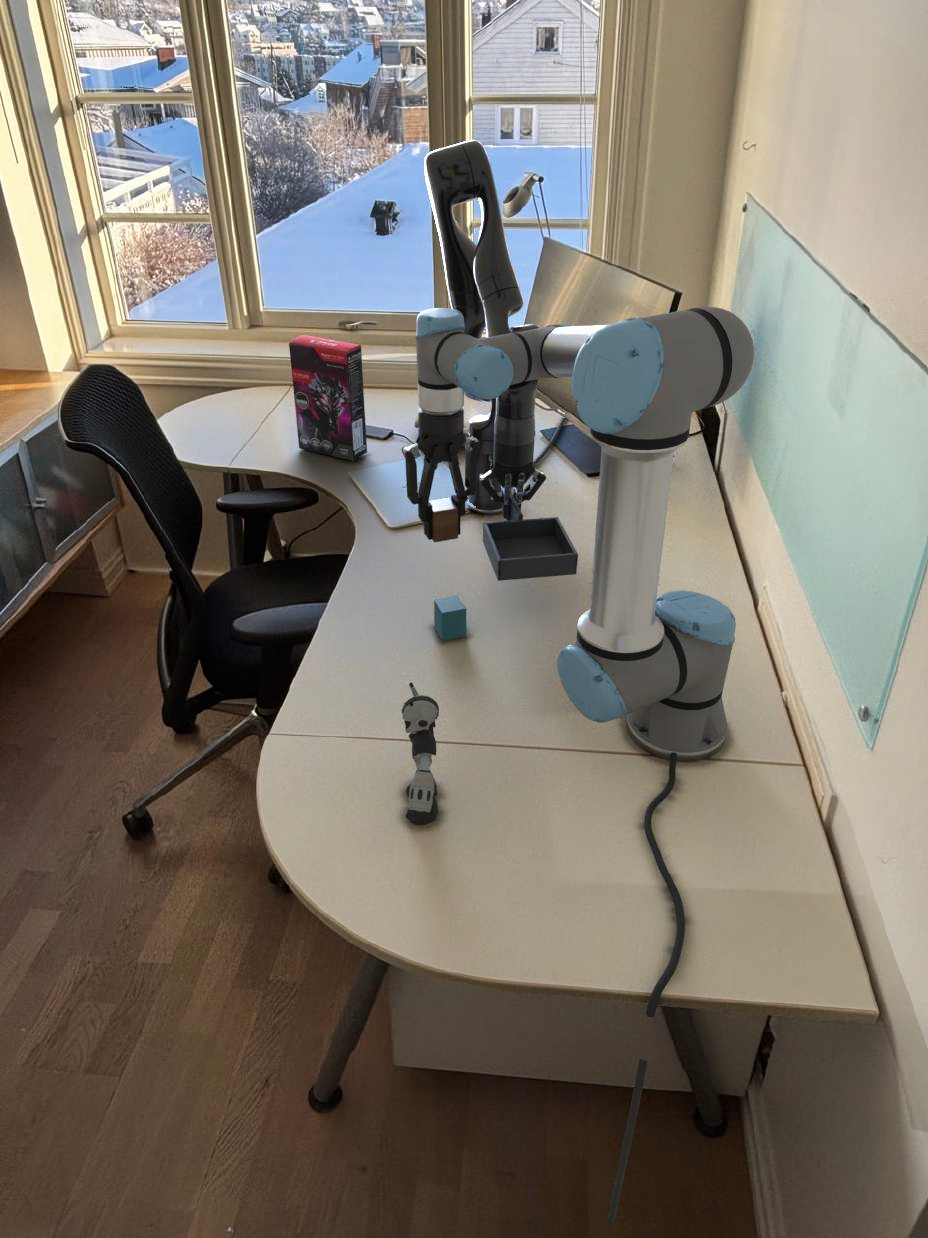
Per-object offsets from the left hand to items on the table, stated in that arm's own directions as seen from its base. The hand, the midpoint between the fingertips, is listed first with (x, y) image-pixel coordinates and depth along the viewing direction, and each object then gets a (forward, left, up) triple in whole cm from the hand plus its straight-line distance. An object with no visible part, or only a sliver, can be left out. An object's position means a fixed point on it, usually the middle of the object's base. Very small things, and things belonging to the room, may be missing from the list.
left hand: (510, 519), depth 180 cm
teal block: (+25, -10, -10) cm, 29 cm away
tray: (+10, +2, 0) cm, 10 cm away
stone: (-62, -16, -10) cm, 65 cm away
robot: (+68, -11, -10) cm, 69 cm away
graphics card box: (-52, -45, -10) cm, 69 cm away
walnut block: (+17, -12, +5) cm, 21 cm away
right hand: (+17, -12, +5) cm, 21 cm away
